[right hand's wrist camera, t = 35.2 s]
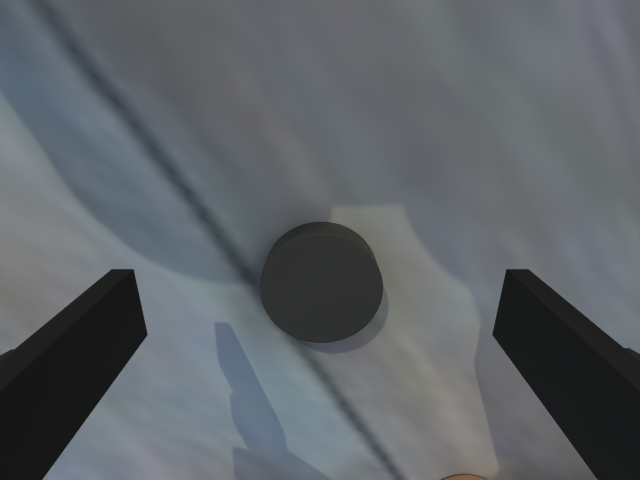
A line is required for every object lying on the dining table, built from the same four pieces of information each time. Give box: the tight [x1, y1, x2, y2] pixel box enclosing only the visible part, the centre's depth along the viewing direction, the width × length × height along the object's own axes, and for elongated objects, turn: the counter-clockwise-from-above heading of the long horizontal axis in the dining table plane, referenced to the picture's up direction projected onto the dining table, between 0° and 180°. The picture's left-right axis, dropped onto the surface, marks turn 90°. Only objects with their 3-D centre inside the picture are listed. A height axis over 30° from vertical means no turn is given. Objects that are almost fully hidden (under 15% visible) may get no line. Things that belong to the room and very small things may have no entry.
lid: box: [260, 222, 383, 343], centre depth 16 cm, size 5×5×2 cm
